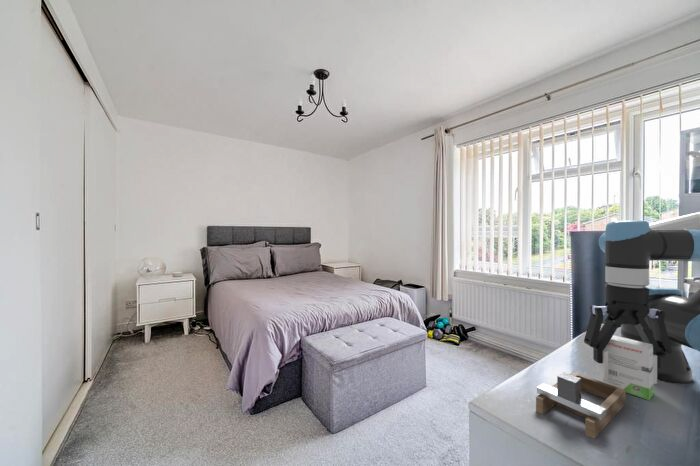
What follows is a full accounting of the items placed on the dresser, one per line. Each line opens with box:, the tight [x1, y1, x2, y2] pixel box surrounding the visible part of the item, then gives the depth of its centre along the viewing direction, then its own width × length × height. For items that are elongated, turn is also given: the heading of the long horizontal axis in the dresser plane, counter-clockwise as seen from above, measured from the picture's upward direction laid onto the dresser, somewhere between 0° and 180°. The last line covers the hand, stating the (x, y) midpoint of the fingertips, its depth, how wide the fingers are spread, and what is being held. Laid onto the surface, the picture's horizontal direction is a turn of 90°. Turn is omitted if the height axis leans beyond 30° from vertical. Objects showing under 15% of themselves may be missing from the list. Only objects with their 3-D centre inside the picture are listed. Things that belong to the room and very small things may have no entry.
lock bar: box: [536, 372, 606, 421], centre depth 56 cm, size 3×10×5 cm, turn 33°
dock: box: [535, 371, 627, 439], centre depth 59 cm, size 20×9×3 cm, turn 123°
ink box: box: [599, 334, 655, 401], centre depth 66 cm, size 9×5×12 cm, turn 32°
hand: (625, 378), depth 66 cm, fingers closed on ink box, 9 cm apart
